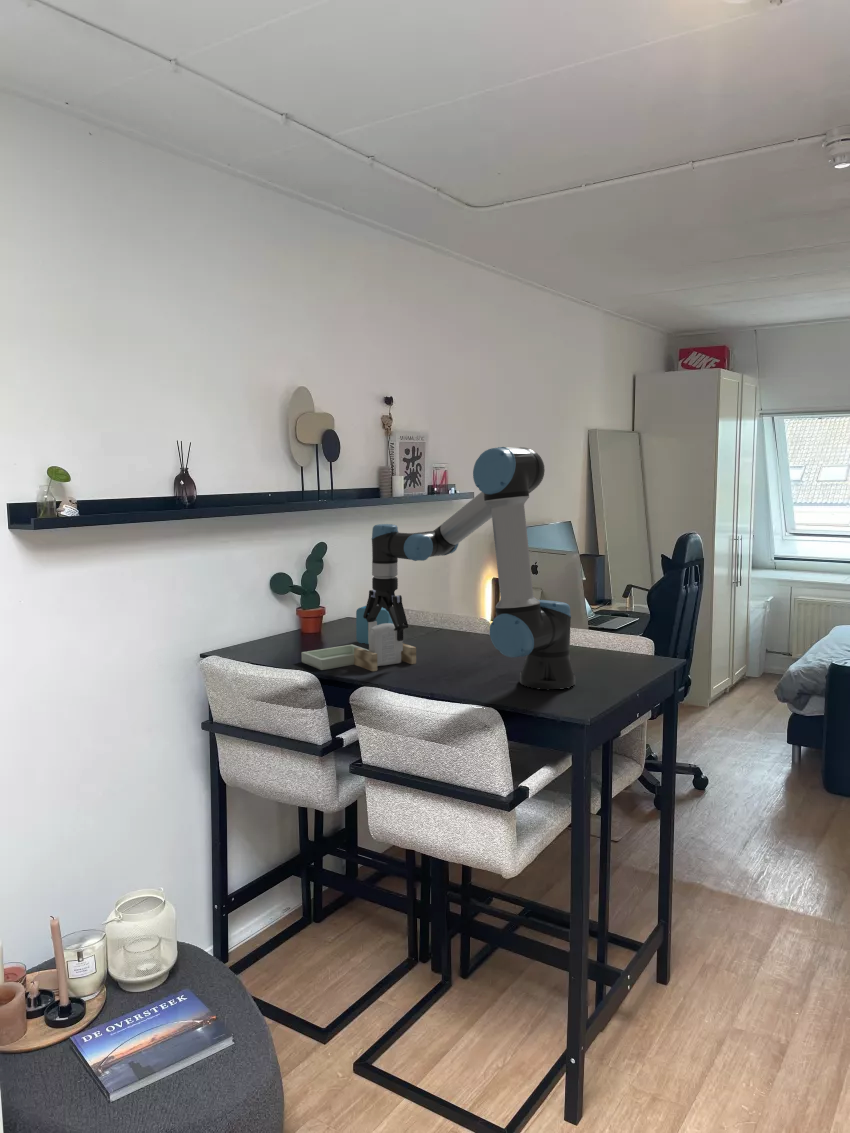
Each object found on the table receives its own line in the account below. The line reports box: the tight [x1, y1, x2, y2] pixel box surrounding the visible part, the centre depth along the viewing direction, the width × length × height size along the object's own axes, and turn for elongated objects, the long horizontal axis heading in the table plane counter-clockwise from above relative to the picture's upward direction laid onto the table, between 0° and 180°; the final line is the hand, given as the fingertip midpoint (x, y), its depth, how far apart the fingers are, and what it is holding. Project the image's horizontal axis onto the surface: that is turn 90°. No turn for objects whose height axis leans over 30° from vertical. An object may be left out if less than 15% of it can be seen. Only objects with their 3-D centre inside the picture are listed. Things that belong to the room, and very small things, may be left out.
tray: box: [301, 643, 369, 671], centre depth 257 cm, size 12×18×3 cm, turn 127°
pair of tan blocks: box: [353, 642, 417, 672], centre depth 254 cm, size 10×16×5 cm, turn 127°
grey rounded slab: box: [368, 623, 402, 667], centre depth 254 cm, size 10×4×12 cm, turn 123°
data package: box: [355, 605, 393, 645], centre depth 281 cm, size 12×4×12 cm, turn 66°
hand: (385, 647), depth 254 cm, fingers open, 13 cm apart
